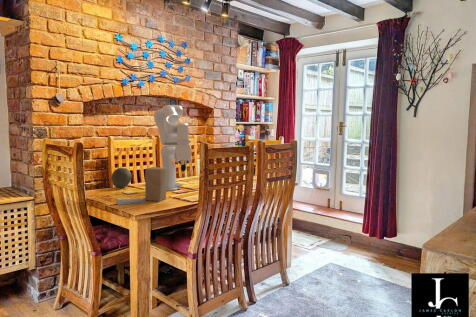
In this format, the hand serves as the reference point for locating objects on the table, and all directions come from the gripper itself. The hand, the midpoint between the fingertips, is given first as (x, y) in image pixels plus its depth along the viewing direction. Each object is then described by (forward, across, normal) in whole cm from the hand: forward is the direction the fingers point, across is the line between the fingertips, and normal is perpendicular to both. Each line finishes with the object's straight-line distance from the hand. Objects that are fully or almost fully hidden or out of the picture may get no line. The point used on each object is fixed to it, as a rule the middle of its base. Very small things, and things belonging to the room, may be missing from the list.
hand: (183, 170), depth 231 cm
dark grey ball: (+17, +35, -50) cm, 63 cm away
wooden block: (+18, +18, -1) cm, 25 cm away
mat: (+18, +33, -1) cm, 37 cm away
